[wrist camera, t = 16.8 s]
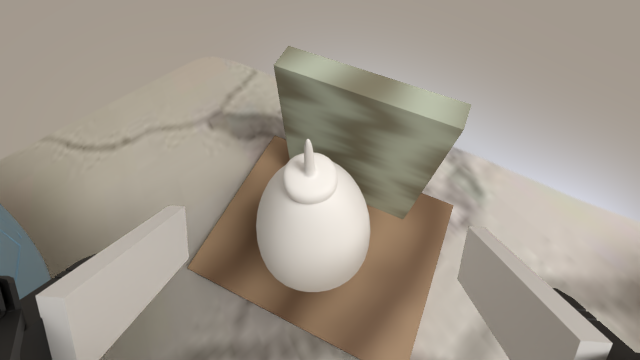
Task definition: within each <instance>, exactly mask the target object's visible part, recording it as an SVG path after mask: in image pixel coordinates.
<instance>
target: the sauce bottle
mask: <svg viewBox="0 0 640 360" xmlns="http://www.w3.org/2000/svg"><path fill="white" fill-rule="evenodd" d="M256 231H257V242H258V246H259V250H260V253H261V256H262V259H263V261H264V263H265V265H266V267H267V268H268V270H269V271H270V272H271V273H272V275H273V276H274V277H275V278H276V279H277V280H278V281H280V282H281V283H283V284H284V285H285V286H288V287H290V288H293V289H295V290H299V291H304V292H321V291H327V290H331V289H334V288H336V287H339V286H341V285H342V284H344V283H345V282H347V281H349V280H350V279H351V278H352V277H353V276H354V275H355V274H356V273H357V272H358V271H359V269H360V267H361V265H362V264H363V262H364V260H365V257H366V254H367V251H368V247H369V240H370V220H369V213H368V209H367V205H366V202H365V199H364V197H363V195H362V193H361V190H360V188H359V186H358V185H357V184H356V182H355V181H354V179H353V178H352V177H351V175H350V174H349V173H348V172H347V171H345V170H344V169H343V168H342V167H341V166H339V165H338V164H336V163H334V162H332V161H331V160H330V159H329V158H328V157H326V156H325V155H323V154H319V153H314V152H313V148H312V144H311V141H310V140H309V139H307V140H306V141H305V145H304V153H302V154H299V155H297V156H295V157H293V158H292V159H290V160H289V162H288V163H287V164H286V165H285V166H283V167H282V168H281V169H280V170H278V171H277V172H276V173H275V175H274V176H273V177H272V178H271V179H270V181H269V182H268V184H267V186H266V188H265V190H264V192H263V194H262V197H261V200H260V203H259V207H258V211H257V221H256Z"/></svg>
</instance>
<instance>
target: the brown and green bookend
mask: <svg viewBox="0 0 640 360" xmlns="http://www.w3.org/2000/svg"><path fill="white" fill-rule="evenodd" d="M274 70H275V76H276V82H277V88H278V94H279V99H280V105H281V111H282V117H283V123H284V129H285V135H286V140H285V139H283V138H280V137H278V136H274V137H273V139H272V140H271V142H270V143H269V145H268V146H267V148H266V149H265V151H264V152H263V154H262V155H261V157H260V158H259V160H258V161H257V163H256V165H255V166H254V168H253V169H252V171H251V172H250V174H249V175H248V177H247V178H246V180H245V181H244V183H243V184H242V186H241V187H240V189H239V190H238V192H237V193H236V195H235V196H234V198H233V199H232V201H231V202H230V204H229V205H228V207H227V208H226V210H225V211H224V213H223V215H222V216H221V218H220V219H219V221H218V222H217V224H216V225H215V227H214V228H213V230H212V231H211V233H210V234H209V236H208V237H207V239H206V240H205V242H204V243H203V245H202V246H201V248H200V249H199V251H198V252H197V254H196V255H195V257H194V258H193V260H192V261H191V263H190V264H189V266H188V269H190V270H192V271H193V272H195V273H197V274H199V275H201V276H203V277H205V278H207V279H208V280H210V281H212V282H214V283H216V284H218V285H220V286H222V287H224V288H226V289H227V290H229V291H231V292H233V293H235V294H237V295H239V296H241V297H243V298H245V299H246V300H248V301H250V302H252V303H254V304H256V305H258V306H260V307H262V308H264V309H265V310H267V311H269V312H271V313H273V314H275V315H277V316H279V317H281V318H282V319H284V320H286V321H288V322H290V323H292V324H294V325H296V326H298V327H300V328H301V329H303V330H305V331H307V332H309V333H311V334H313V335H315V336H317V337H319V338H320V339H322V340H324V341H326V342H328V343H330V344H332V345H334V346H336V347H338V348H339V349H341V350H343V351H345V352H347V353H349V354H351V355H353V356H355V357H356V358H358V359H360V360H409V359H410V356H411V352H412V349H413V345H414V342H415V338H416V335H417V331H418V328H419V324H420V321H421V317H422V314H423V310H424V307H425V303H426V300H427V296H428V293H429V289H430V286H431V282H432V279H433V275H434V272H435V268H436V265H437V261H438V257H439V254H440V250H441V247H442V243H443V240H444V236H445V233H446V229H447V226H448V222H449V219H450V215H451V212H452V208H453V205H451V204H448V203H446V202H443V201H441V200H438V199H436V198H433V197H431V196H428V195H425V194H423V193H421V192H422V191H423V189H424V188H425V186H426V185H427V183H428V182H429V180H430V179H431V178H432V176H433V175H434V173H435V172H436V170H437V169H438V167H439V166H440V164H441V163H442V161H443V160H444V158H445V157H446V155H447V154H448V152H449V151H450V149H451V148H452V146H453V145H454V143H455V142H456V140H457V139H458V137H459V136H460V134H461V133H462V131H463V130H464V127H465V124H466V120H467V117H468V114H469V110H470V107H471V104H468V103H465V102H461V101H458V100H455V99H452V98H449V97H446V96H443V95H440V94H437V93H434V92H431V91H428V90H424V89H421V88H418V87H415V86H412V85H409V84H406V83H403V82H400V81H396V80H393V79H390V78H387V77H384V76H381V75H378V74H374V73H372V72H368V71H365V70H362V69H359V68H356V67H353V66H349V65H347V64H343V63H340V62H337V61H334V60H331V59H328V58H325V57H321V56H318V55H316V54H312V53H309V52H306V51H303V50H300V49H297V48H294V47H291V46H288V47H287V48H286V50H285V51H284V52H283V54H282V55H281V56H280V58H279V59H278V60H277V62H276V63H275V64H274ZM307 139H309V140H310V141H311V144H312V148H313V152H314V153H319V154H323V155H325V156H326V157H328V158H329V159H330V160H331V161H332V162H334V163H336V164H338V165H339V166H341V167H342V168H343V169H344V170H345V171H347V172H348V173H349V174H350V175H351V177H352V178H353V179H354V181H355V182H356V184H357V185H358V186H359V188H360V190H361V193H362V195H363V197H364V199H365V202H366V205H367V209H368V213H369V220H370V240H369V247H368V251H367V254H366V257H365V260H364V262H363V264H362V265H361V267H360V269H359V271H358V272H357V273H356V274H355V275H354V276H353V277H352V278H351V279H350V280H349V281H347V282H345V283H344V284H342V285H341V286H339V287H336V288H334V289H331V290H327V291H321V292H304V291H299V290H295V289H293V288H290V287H288V286H285V285H284V284H283V283H281V282H280V281H278V280H277V279H276V278H275V277H274V276H273V275H272V273H271V272H270V271H269V270H268V268H267V267H266V265H265V263H264V261H263V259H262V256H261V253H260V250H259V246H258V242H257V231H256V221H257V211H258V207H259V203H260V200H261V197H262V194H263V192H264V190H265V188H266V186H267V184H268V182H269V181H270V179H271V178H272V177H273V176H274V175H275V173H276V172H277V171H278V170H280V169H281V168H282V167H283V166H285V165H286V164H287V163H288V162H289V160H290V159H292V158H293V157H295V156H297V155H299V154H302V153H304V145H305V141H306V140H307Z"/></svg>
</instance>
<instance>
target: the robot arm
mask: <svg viewBox="0 0 640 360" xmlns="http://www.w3.org/2000/svg"><path fill="white" fill-rule="evenodd" d="M188 259H189V253H188V240H187V226H186V213H185V206H174V205H169V206H167V207H166V208H164V209H163V210H161V211H160V212H158V213H157V214H155V215H154V216H152V217H151V218H149V219H148V220H146V221H145V222H143V223H142V224H141V225H139V226H138V227H136V228H135V229H133V230H132V231H130V232H129V233H127V234H126V235H124V236H123V237H121V238H120V239H118V240H117V241H115V242H114V243H112V244H111V245H110V246H108V247H107V248H105V249H104V250H102V251H101V252H99V253H98V254H94V255H92V256H89V257H87V258H85V259H82V260H80V261H78V262H76V263H75V264H73V265H72V266H70V267H69V268H67V269H66V271H63V272H61V273H60V274H58V275H57V276H55V278H54V279H51V278H50V275H49V272H48V269H47V266H46V264H45V262H44V260H43V258H42V256H41V254H40V252H39V251H38V249H37V248H36V246H35V244H34V243H33V242H32V240H31V239H30V238H29V236H28V235H27V233H26V232H25V231H24V229H23V228H22V227H21V226H20V224H19V223H18V222H17V221H16V220H15V219H14V218H13V216H12V215H11V214H10V213H9V212H8V211H7V210H6V209H5V208H4V207H3V206H2V205H1V204H0V360H99V359H100V358H101V357H102V356H103V355H104V354H105V353H106V351H107V350H108V349H109V348H110V347H111V346H112V345H113V344H114V342H115V341H116V340H117V339H118V338H119V337H120V336H121V335H122V333H123V332H124V331H125V330H126V329H127V328H128V327H129V325H130V324H131V323H132V322H133V321H134V320H135V319H136V318H137V316H138V315H139V314H140V313H141V312H142V311H143V310H144V309H145V307H146V306H147V305H148V304H149V303H150V302H151V301H152V299H153V298H154V297H155V296H156V295H157V294H158V293H159V292H160V290H161V289H162V288H163V287H164V286H165V285H166V284H167V283H168V281H169V280H170V279H171V278H172V277H173V276H174V275H175V273H176V272H177V271H178V270H179V269H180V268H181V267H182V266H183V264H184V263H185V262H186V261H187V260H188ZM457 279H458V281H459V282H460V284H461V285H462V287H463V288H464V290H465V291H466V293H467V295H468V296H469V298H470V299H471V301H472V302H473V304H474V305H475V307H476V308H477V310H478V311H479V313H480V315H481V316H482V318H483V319H484V321H485V322H486V324H487V325H488V327H489V328H490V330H491V332H492V333H493V335H494V336H495V338H496V339H497V341H498V342H499V344H500V345H501V347H502V349H503V350H504V352H505V353H506V355H507V356H508V358H509V359H510V360H640V353H635V352H634V351H633V350H632V349H631V348H629V347H628V346H627V345H626V344H625V343H624V342H623V341H621V340H620V339H619V338H618V337H617V336H616V335H615V334H613V333H612V332H611V331H610V330H609V329H608V328H607V327H605V326H604V325H603V324H602V323H601V322H600V321H597V319H596V318H595V317H594V316H593V315H592V314H590V313H589V312H586V309H585V308H584V307H582V306H581V305H580V304H579V303H578V302H577V301H576V300H574V299H573V298H572V297H570V296H568V295H567V294H565V293H563V292H561V291H560V290H558V289H556V288H551V287H550V286H549V285H548V284H547V283H546V282H545V281H544V280H543V279H541V278H540V277H539V276H538V275H537V274H536V273H535V272H534V271H533V270H532V269H530V268H529V267H528V266H527V265H526V264H525V263H524V262H523V261H522V260H521V259H519V258H518V257H517V256H516V255H515V254H514V253H513V252H512V251H511V250H510V249H508V248H507V247H506V246H505V245H504V244H503V243H502V242H501V241H500V240H499V239H497V238H496V237H495V236H494V235H493V234H492V233H491V232H490V231H489V230H488V229H486V228H484V227H470V226H468V231H467V235H466V240H465V245H464V250H463V255H462V259H461V264H460V269H459V274H458V278H457Z"/></svg>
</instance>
